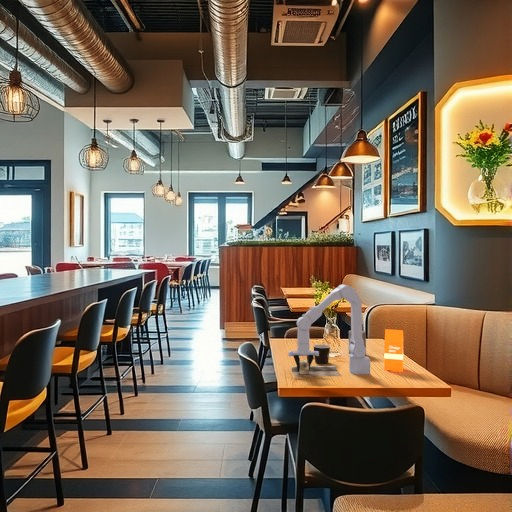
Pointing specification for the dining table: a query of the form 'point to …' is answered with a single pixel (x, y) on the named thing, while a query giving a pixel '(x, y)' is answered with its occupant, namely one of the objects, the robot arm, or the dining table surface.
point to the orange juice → (393, 350)
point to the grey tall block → (362, 337)
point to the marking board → (317, 371)
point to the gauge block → (304, 367)
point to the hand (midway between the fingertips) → (303, 371)
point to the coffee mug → (322, 354)
